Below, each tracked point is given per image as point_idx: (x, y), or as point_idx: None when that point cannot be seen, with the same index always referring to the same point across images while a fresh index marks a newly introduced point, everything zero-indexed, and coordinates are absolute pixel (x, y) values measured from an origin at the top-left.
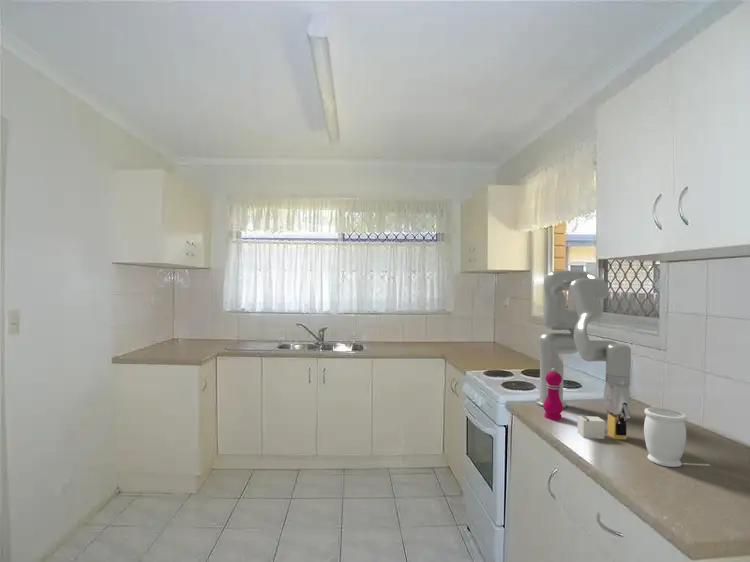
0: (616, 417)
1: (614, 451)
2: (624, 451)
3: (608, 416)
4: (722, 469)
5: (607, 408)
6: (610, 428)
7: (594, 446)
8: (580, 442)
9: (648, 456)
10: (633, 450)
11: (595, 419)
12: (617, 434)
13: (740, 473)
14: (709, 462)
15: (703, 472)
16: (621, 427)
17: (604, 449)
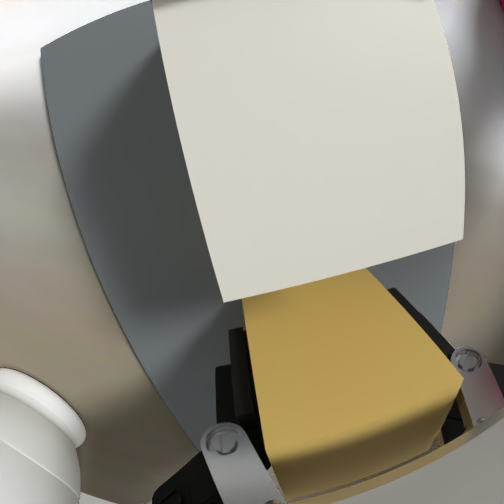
0: (323, 458)
1: (9, 238)
2: (41, 298)
3: (433, 369)
4: (98, 488)
5: (475, 463)
6: (332, 310)
7: (37, 110)
8: (92, 12)
9: (9, 377)
10: (88, 350)
11: (298, 138)
12: (231, 336)
13: (98, 496)
14: (134, 490)
15: None
16: (220, 413)
17: (11, 178)
